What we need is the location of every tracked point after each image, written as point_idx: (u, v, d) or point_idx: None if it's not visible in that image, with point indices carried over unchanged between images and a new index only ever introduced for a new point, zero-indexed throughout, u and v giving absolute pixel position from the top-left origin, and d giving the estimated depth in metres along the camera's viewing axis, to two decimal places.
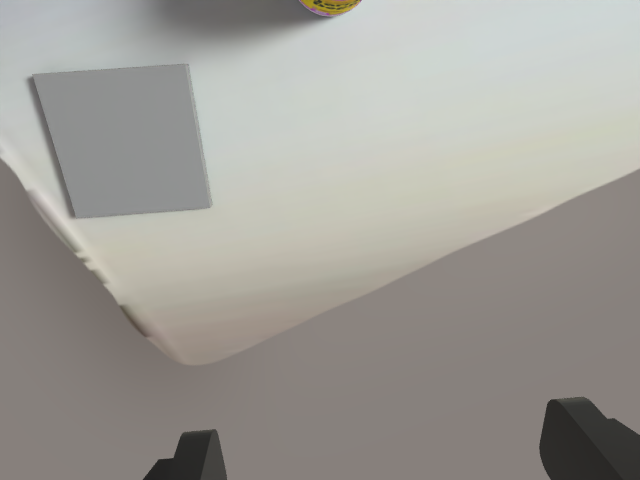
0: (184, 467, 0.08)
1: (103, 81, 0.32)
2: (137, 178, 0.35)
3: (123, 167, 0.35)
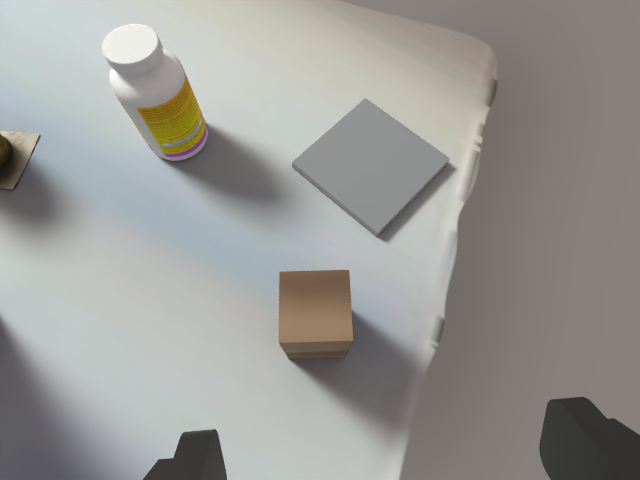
0: (184, 467, 0.08)
1: (344, 194, 0.41)
2: (386, 143, 0.44)
3: (387, 154, 0.43)
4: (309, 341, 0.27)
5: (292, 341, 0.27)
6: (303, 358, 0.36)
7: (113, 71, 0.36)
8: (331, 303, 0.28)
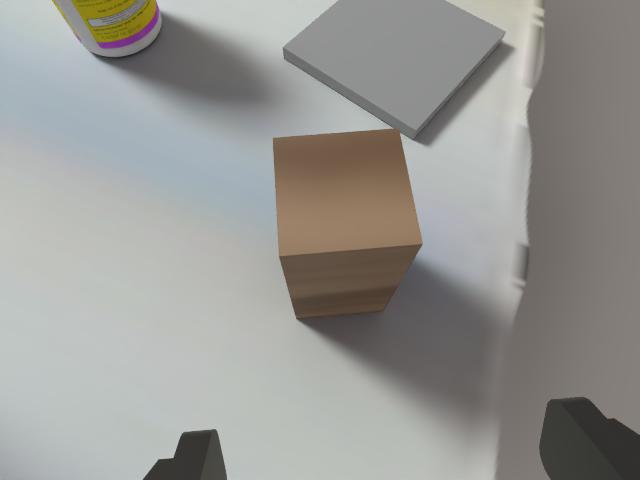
0: (184, 467, 0.08)
1: (361, 84, 0.29)
2: (414, 18, 0.31)
3: (418, 31, 0.31)
4: (338, 250, 0.14)
5: (305, 252, 0.14)
6: (319, 315, 0.23)
7: None
8: (372, 182, 0.15)
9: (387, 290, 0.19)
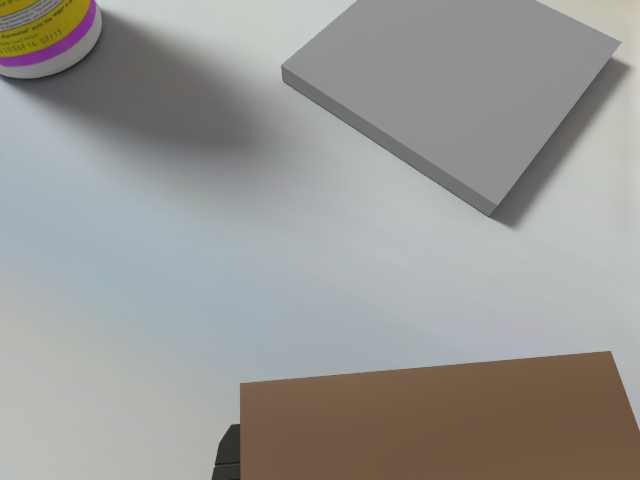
0: None
1: (404, 125, 0.18)
2: (480, 20, 0.21)
3: (487, 40, 0.20)
4: None
5: None
6: None
7: None
8: None
9: None
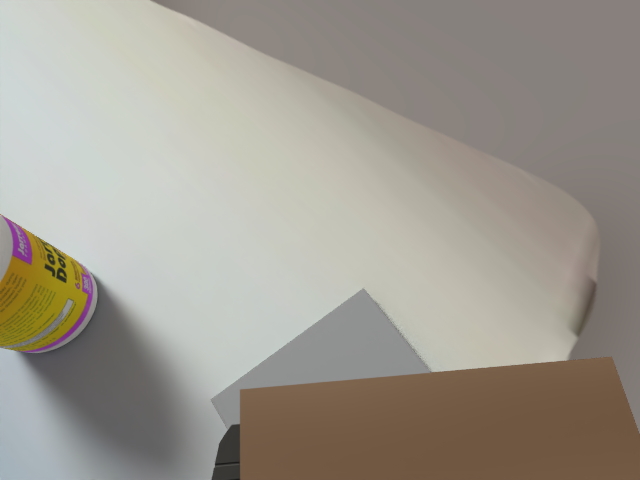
0: None
1: None
2: None
3: None
4: None
5: None
6: None
7: None
8: None
9: None
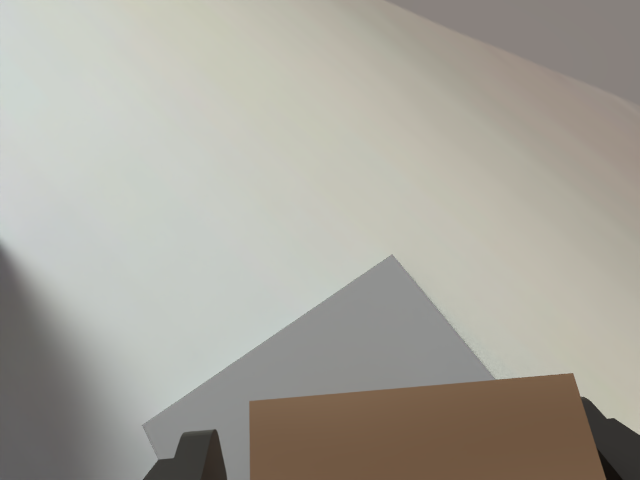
0: (184, 467, 0.08)
1: None
2: None
3: None
4: None
5: None
6: None
7: None
8: None
9: None
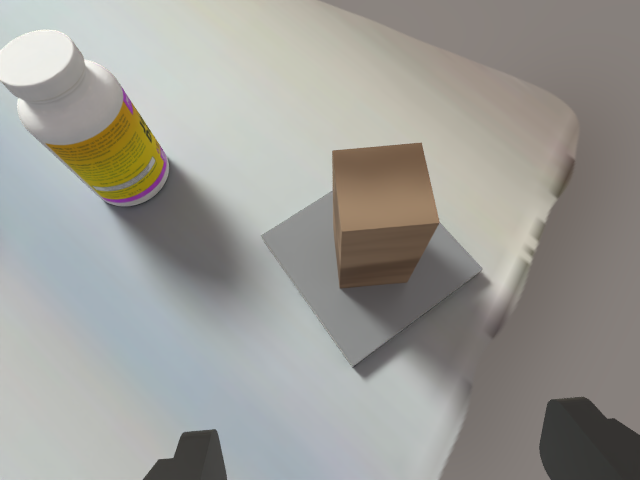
0: (184, 467, 0.08)
1: (319, 296, 0.29)
2: None
3: None
4: (381, 227, 0.20)
5: (359, 228, 0.20)
6: (357, 285, 0.29)
7: None
8: (403, 181, 0.21)
9: (412, 262, 0.26)
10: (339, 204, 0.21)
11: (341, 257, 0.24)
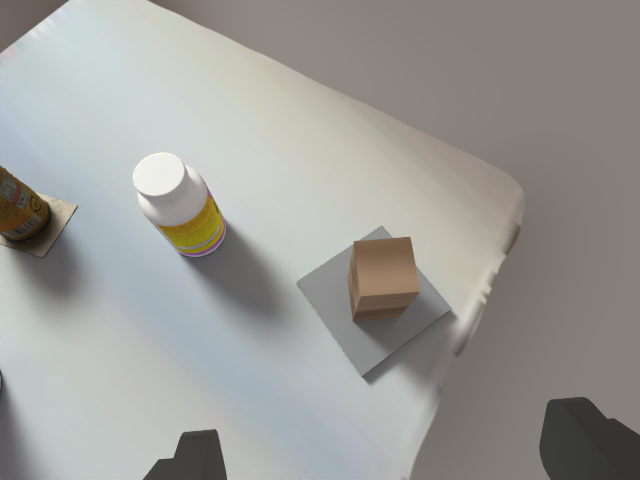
0: (184, 467, 0.08)
1: (338, 327, 0.42)
2: None
3: None
4: (385, 294, 0.34)
5: (371, 294, 0.33)
6: (364, 319, 0.42)
7: None
8: (398, 263, 0.34)
9: (403, 308, 0.39)
10: (359, 278, 0.34)
11: (357, 306, 0.37)
